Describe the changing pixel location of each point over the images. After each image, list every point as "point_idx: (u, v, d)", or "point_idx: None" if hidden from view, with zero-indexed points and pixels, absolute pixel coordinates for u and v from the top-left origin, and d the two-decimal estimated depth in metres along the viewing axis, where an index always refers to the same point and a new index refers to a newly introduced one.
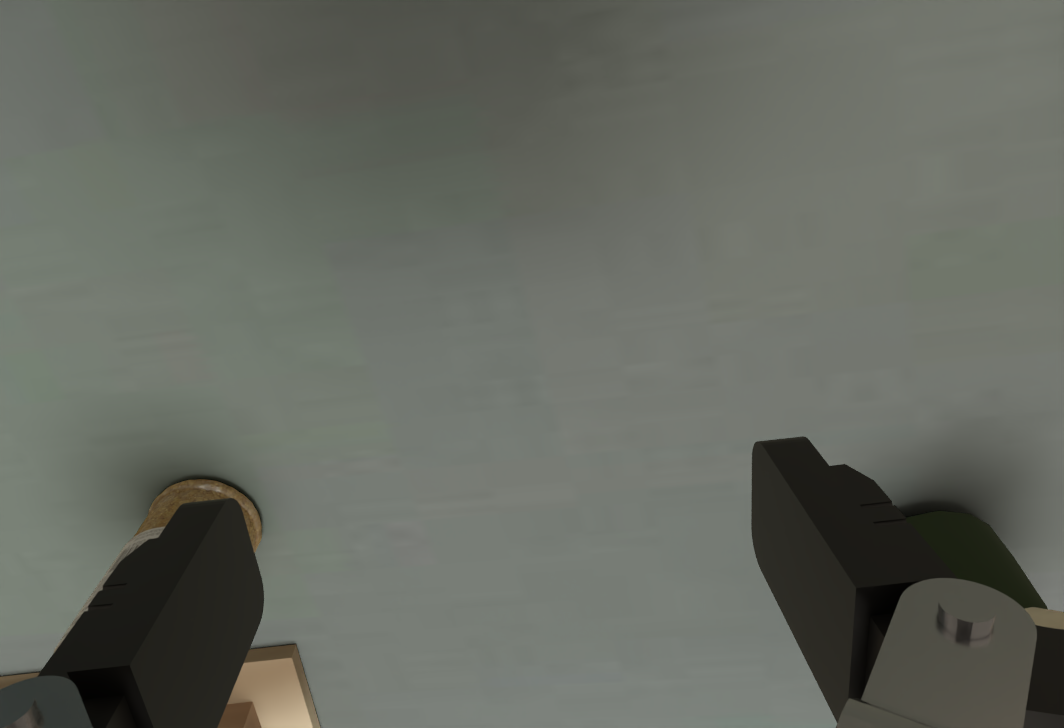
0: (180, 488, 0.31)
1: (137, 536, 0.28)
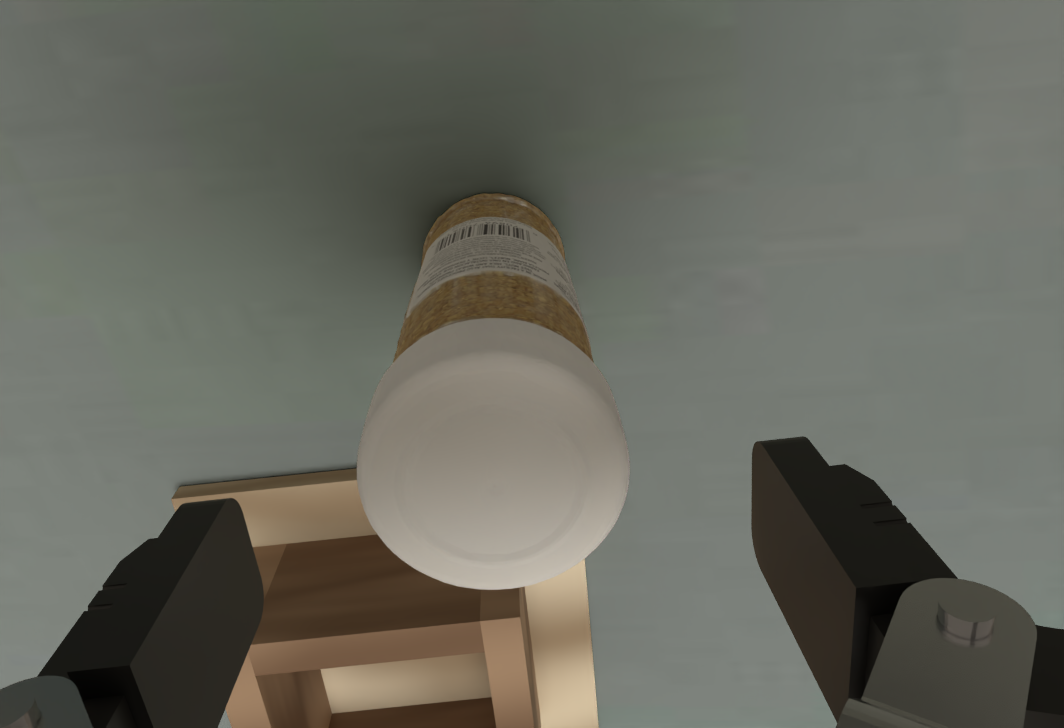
0: (476, 200, 0.24)
1: (452, 228, 0.21)
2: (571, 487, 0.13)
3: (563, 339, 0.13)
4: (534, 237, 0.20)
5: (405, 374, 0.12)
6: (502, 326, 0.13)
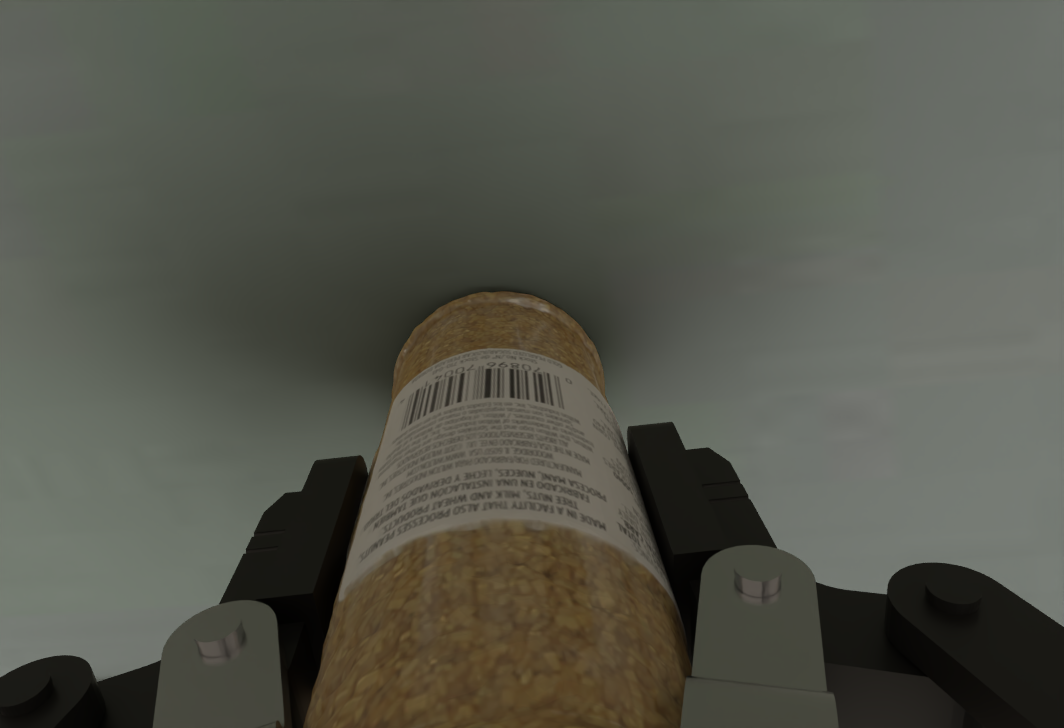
0: (472, 303, 0.16)
1: (434, 367, 0.13)
2: None
3: None
4: (568, 390, 0.12)
5: None
6: None
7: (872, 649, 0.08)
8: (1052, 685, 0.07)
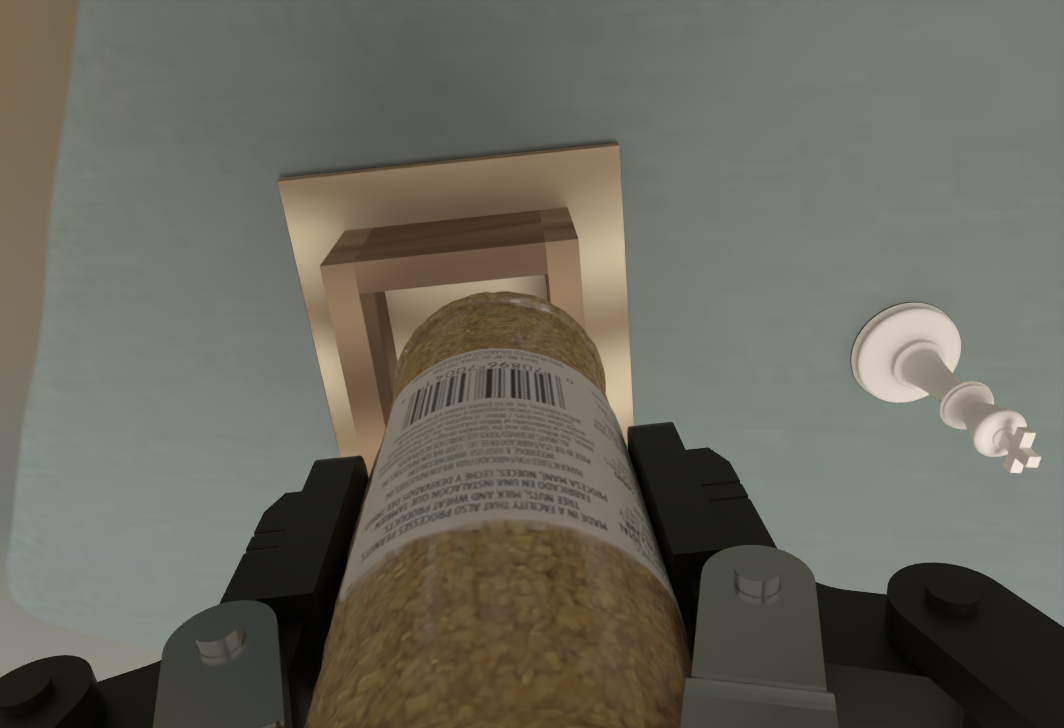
0: (473, 303, 0.16)
1: (435, 367, 0.13)
2: None
3: None
4: (569, 390, 0.12)
5: None
6: None
7: (872, 649, 0.08)
8: (1051, 685, 0.07)
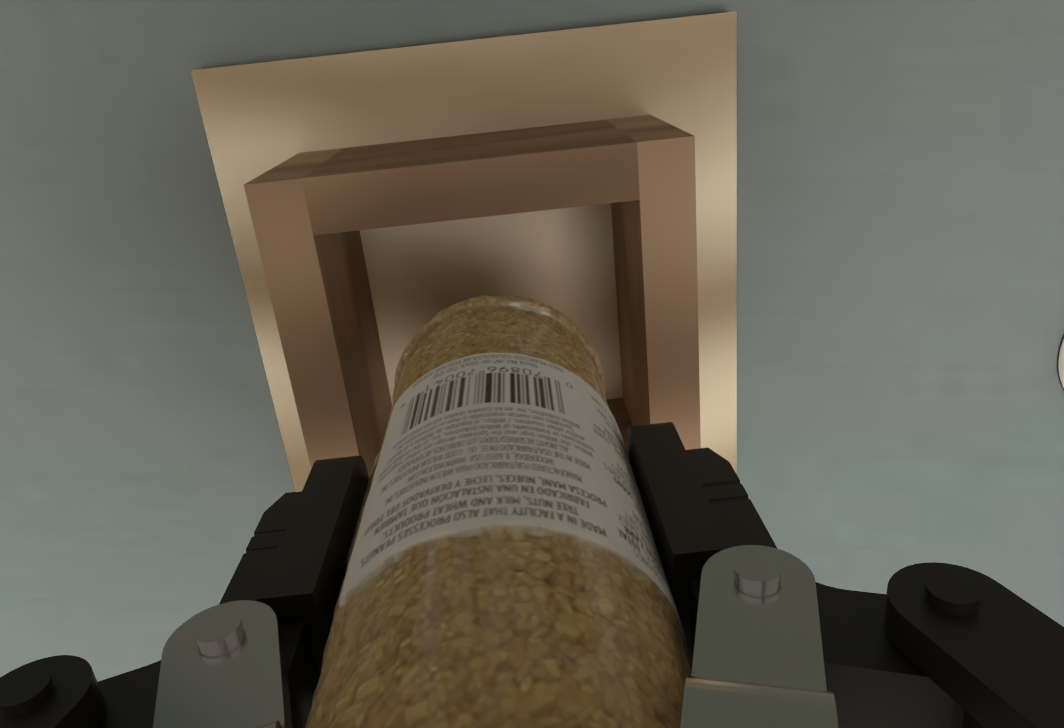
0: (473, 307, 0.16)
1: (434, 372, 0.13)
2: None
3: None
4: (569, 395, 0.12)
5: None
6: None
7: (872, 649, 0.08)
8: (1052, 685, 0.07)
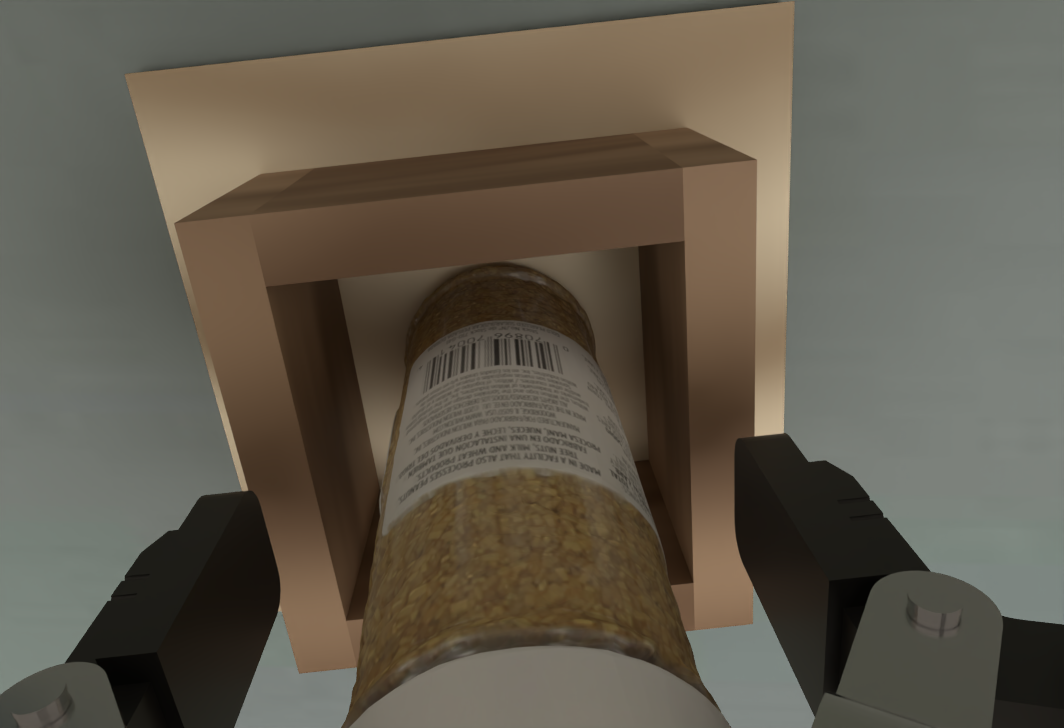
0: (476, 277, 0.17)
1: (447, 337, 0.15)
2: None
3: (662, 680, 0.08)
4: (566, 357, 0.14)
5: None
6: (557, 681, 0.07)
7: None
8: None
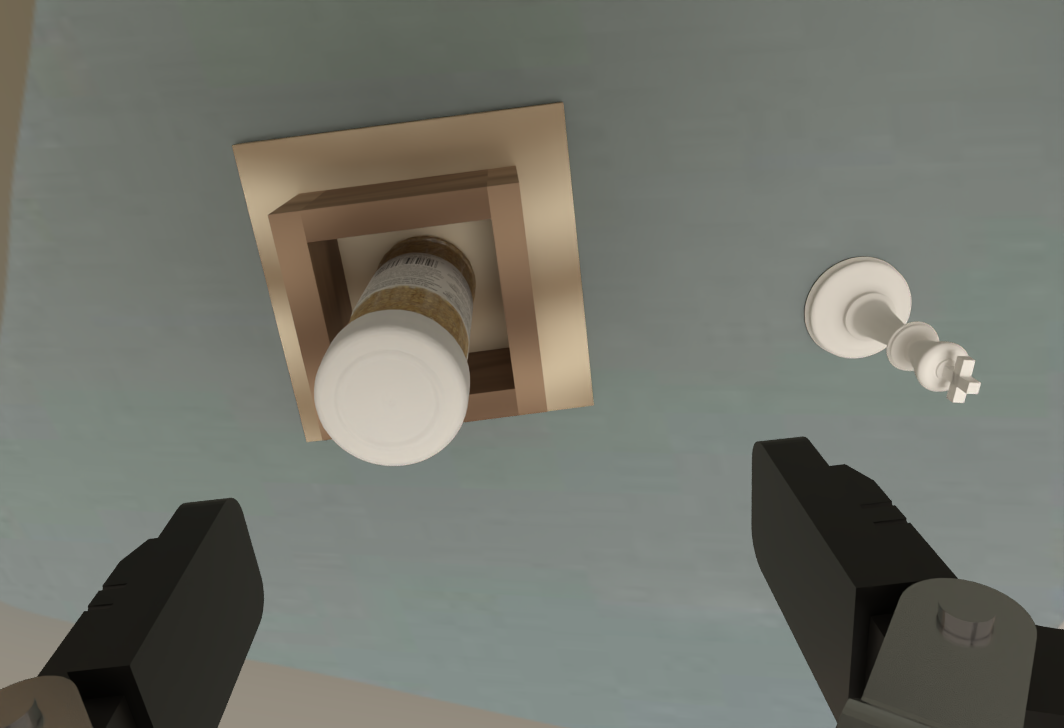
0: (410, 241, 0.34)
1: (389, 260, 0.31)
2: (433, 401, 0.23)
3: (431, 320, 0.24)
4: (441, 265, 0.31)
5: (339, 339, 0.23)
6: (394, 313, 0.23)
7: None
8: None
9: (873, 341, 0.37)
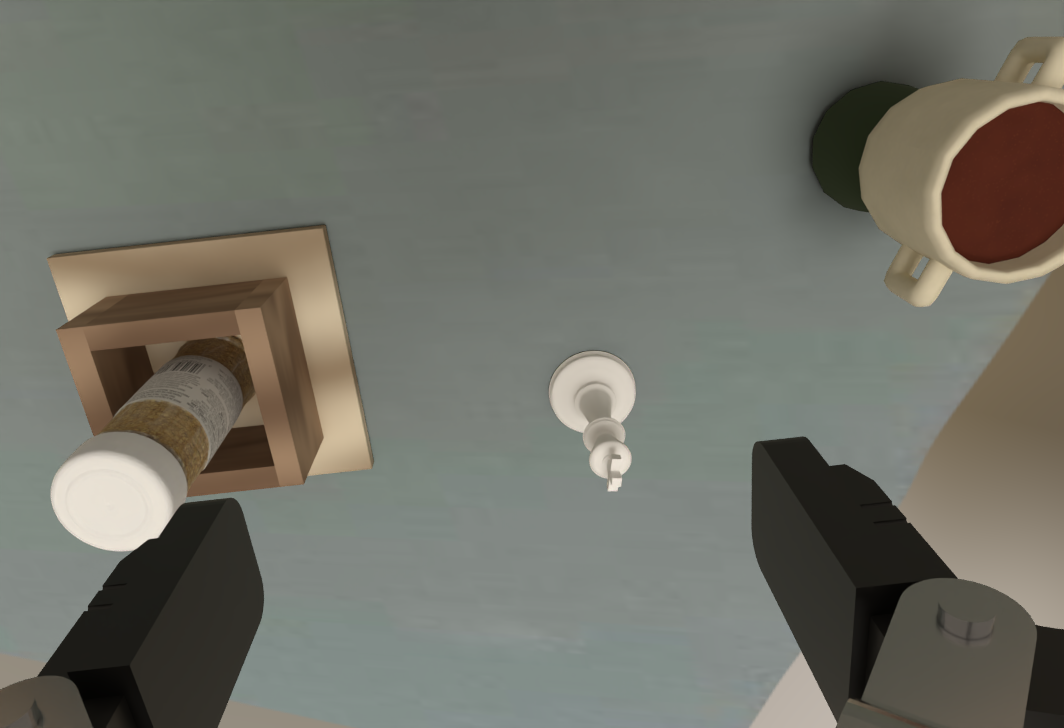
0: None
1: (168, 362, 0.38)
2: (143, 505, 0.30)
3: (148, 440, 0.31)
4: (206, 369, 0.38)
5: (67, 459, 0.30)
6: (116, 436, 0.30)
7: None
8: None
9: None
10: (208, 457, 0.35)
